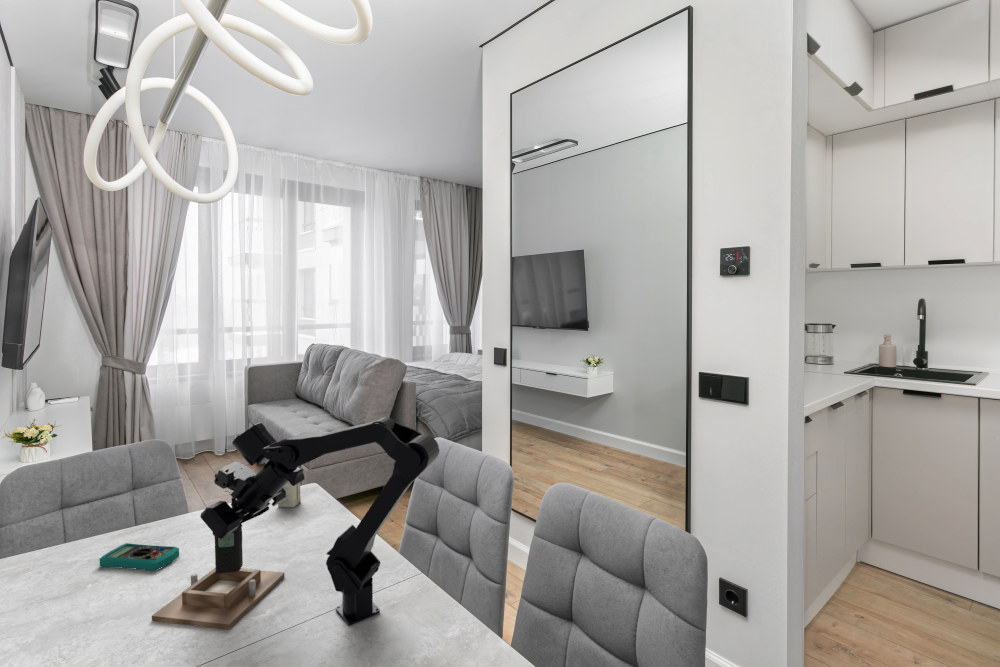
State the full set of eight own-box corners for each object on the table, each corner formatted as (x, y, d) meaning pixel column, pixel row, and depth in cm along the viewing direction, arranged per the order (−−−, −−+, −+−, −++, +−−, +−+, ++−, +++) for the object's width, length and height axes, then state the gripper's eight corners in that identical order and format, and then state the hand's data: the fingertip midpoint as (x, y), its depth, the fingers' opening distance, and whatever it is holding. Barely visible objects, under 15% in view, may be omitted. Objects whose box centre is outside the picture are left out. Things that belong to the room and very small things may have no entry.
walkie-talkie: (214, 574, 101) (212, 502, 100) (220, 566, 104) (217, 495, 103) (240, 571, 102) (238, 500, 101) (245, 563, 105) (243, 494, 104)
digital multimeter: (157, 573, 111) (157, 560, 111) (97, 568, 113) (97, 556, 112) (182, 557, 118) (182, 545, 118) (125, 553, 120) (125, 541, 120)
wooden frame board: (284, 577, 109) (284, 559, 109) (228, 629, 92) (228, 608, 91) (218, 570, 112) (218, 553, 111) (151, 620, 94) (151, 600, 94)
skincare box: (301, 502, 150) (301, 469, 150) (292, 508, 146) (292, 474, 146) (285, 500, 151) (285, 468, 151) (276, 506, 147) (276, 473, 147)
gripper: (272, 439, 110) (230, 485, 112) (207, 466, 91) (159, 519, 94) (305, 477, 109) (262, 522, 111) (246, 511, 90) (196, 564, 93)
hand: (222, 530), depth 103 cm, fingers closed on walkie-talkie, 4 cm apart
